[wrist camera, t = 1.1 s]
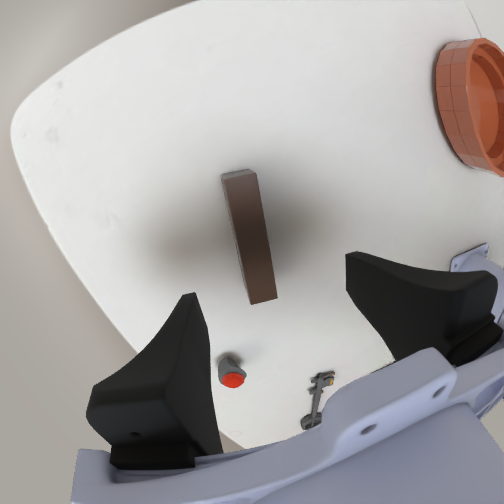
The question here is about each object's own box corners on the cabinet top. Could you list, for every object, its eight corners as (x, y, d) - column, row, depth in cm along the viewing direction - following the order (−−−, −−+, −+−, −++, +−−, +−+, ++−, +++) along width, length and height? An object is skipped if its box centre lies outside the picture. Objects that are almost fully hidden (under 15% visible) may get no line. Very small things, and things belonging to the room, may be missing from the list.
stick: (270, 281, 22) (277, 298, 20) (245, 288, 22) (250, 305, 20) (249, 168, 18) (256, 172, 16) (220, 174, 18) (223, 179, 16)
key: (324, 427, 32) (301, 434, 31) (321, 422, 33) (299, 428, 32) (337, 373, 27) (308, 381, 27) (333, 367, 28) (305, 375, 28)
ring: (228, 373, 26) (232, 396, 23) (210, 360, 24) (213, 384, 22) (248, 361, 25) (254, 384, 23) (231, 347, 24) (235, 370, 22)
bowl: (502, 165, 22) (528, 173, 18) (438, 172, 21) (473, 182, 17) (490, 57, 16) (516, 57, 12) (417, 30, 15) (450, 20, 11)
